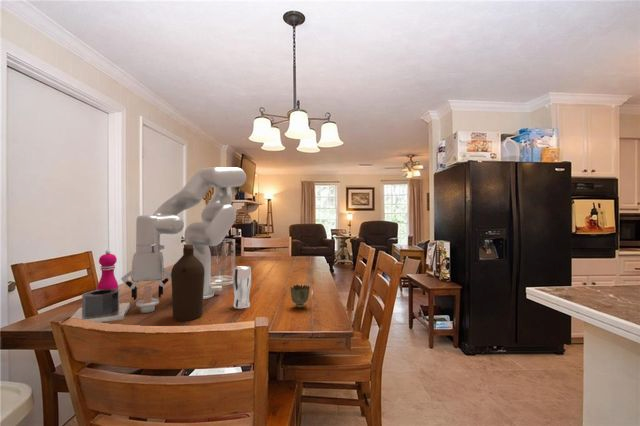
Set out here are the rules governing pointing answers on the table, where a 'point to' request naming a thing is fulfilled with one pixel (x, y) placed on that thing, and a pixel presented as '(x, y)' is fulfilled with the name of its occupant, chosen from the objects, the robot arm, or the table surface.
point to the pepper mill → (107, 271)
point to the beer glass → (241, 286)
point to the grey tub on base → (102, 306)
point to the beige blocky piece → (147, 301)
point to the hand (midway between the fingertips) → (147, 297)
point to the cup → (299, 295)
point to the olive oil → (187, 286)
